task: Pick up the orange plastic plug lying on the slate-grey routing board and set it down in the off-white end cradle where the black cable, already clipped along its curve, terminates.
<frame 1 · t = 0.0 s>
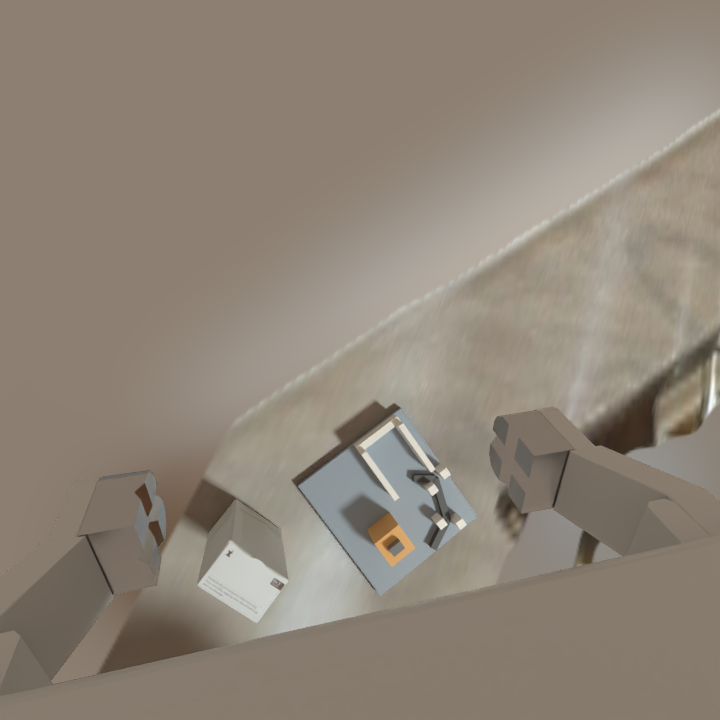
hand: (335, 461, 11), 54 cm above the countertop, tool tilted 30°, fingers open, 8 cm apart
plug: (386, 531, 67), point 1 cm above the countertop, touching route board
route board: (389, 499, 68), on the countertop
skincare box: (248, 530, 64), on the countertop
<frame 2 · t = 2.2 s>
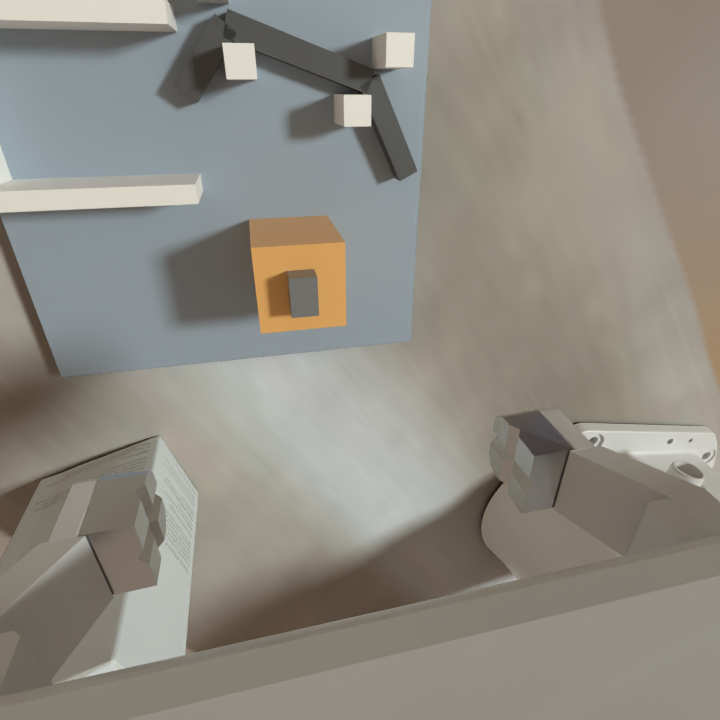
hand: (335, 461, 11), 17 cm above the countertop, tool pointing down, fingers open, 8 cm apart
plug: (291, 255, 25), point 1 cm above the countertop, touching route board
route board: (226, 195, 24), on the countertop
skincare box: (126, 479, 31), on the countertop
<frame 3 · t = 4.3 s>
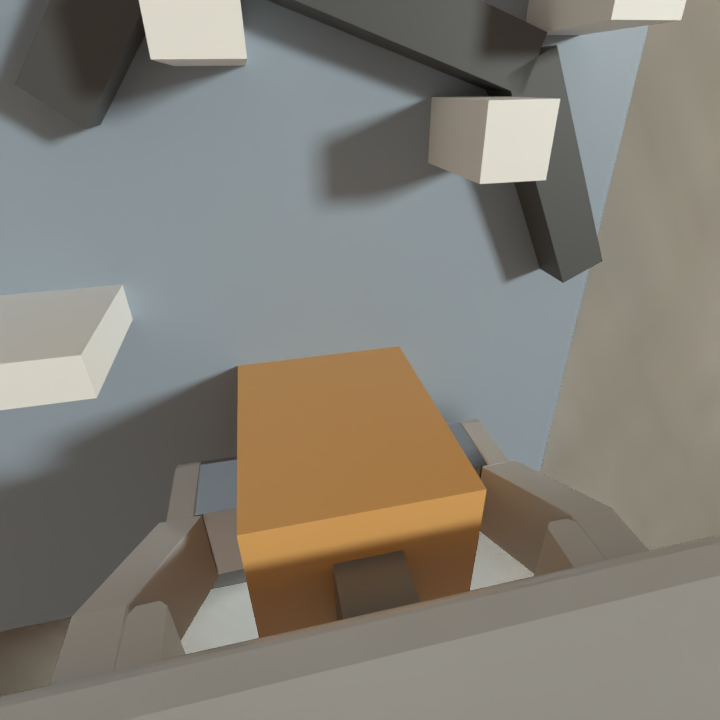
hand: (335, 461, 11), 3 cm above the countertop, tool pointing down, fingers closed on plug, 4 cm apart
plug: (325, 420, 13), point 1 cm above the countertop, touching gripper, route board
route board: (189, 314, 11), on the countertop
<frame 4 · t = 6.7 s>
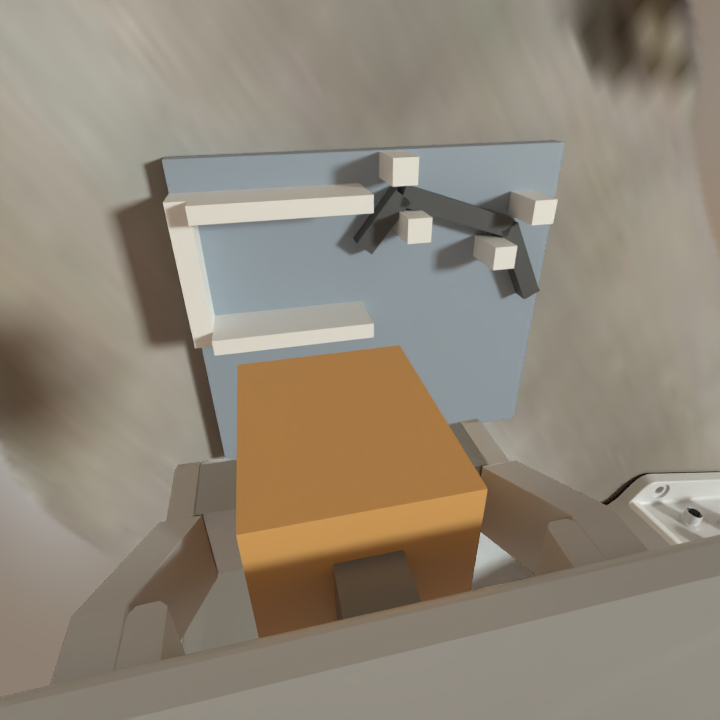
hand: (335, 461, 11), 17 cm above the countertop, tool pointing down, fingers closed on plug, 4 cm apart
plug: (325, 419, 12), point 15 cm above the countertop, touching gripper
route board: (374, 311, 28), on the countertop
skincare box: (258, 538, 36), on the countertop
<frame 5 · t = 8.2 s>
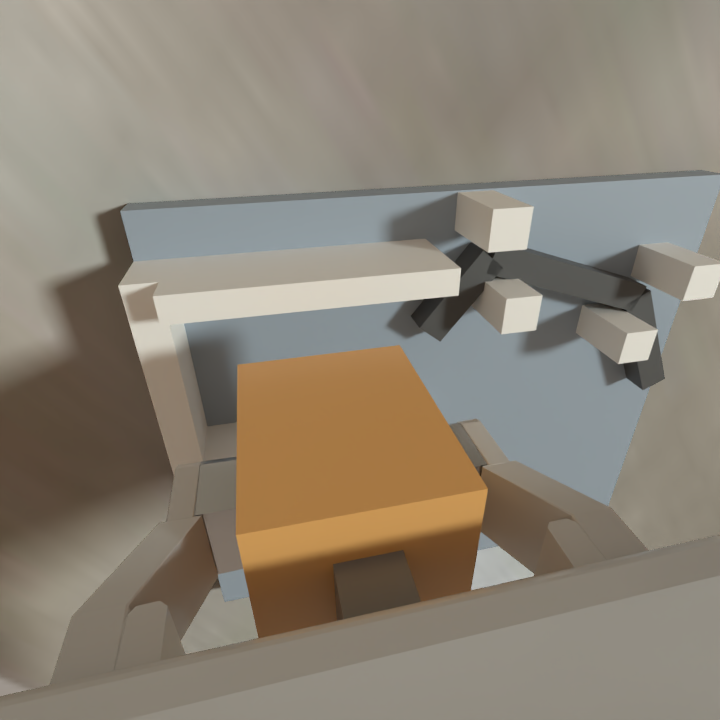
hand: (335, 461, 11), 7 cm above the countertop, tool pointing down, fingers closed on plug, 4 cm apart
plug: (325, 419, 12), point 6 cm above the countertop, touching gripper
route board: (430, 405, 20), on the countertop
when the fingers open (4 cm above the countertop, at t = 9.3 s): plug stays where it is, resting on route board.
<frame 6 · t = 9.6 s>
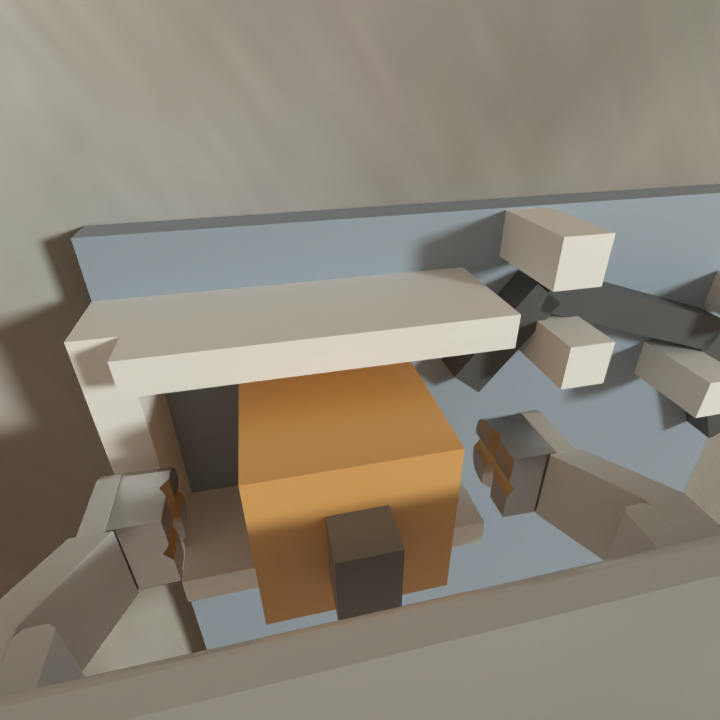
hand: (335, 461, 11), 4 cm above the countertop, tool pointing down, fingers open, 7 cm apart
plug: (320, 398, 13), point 1 cm above the countertop, touching route board
route board: (457, 454, 17), on the countertop
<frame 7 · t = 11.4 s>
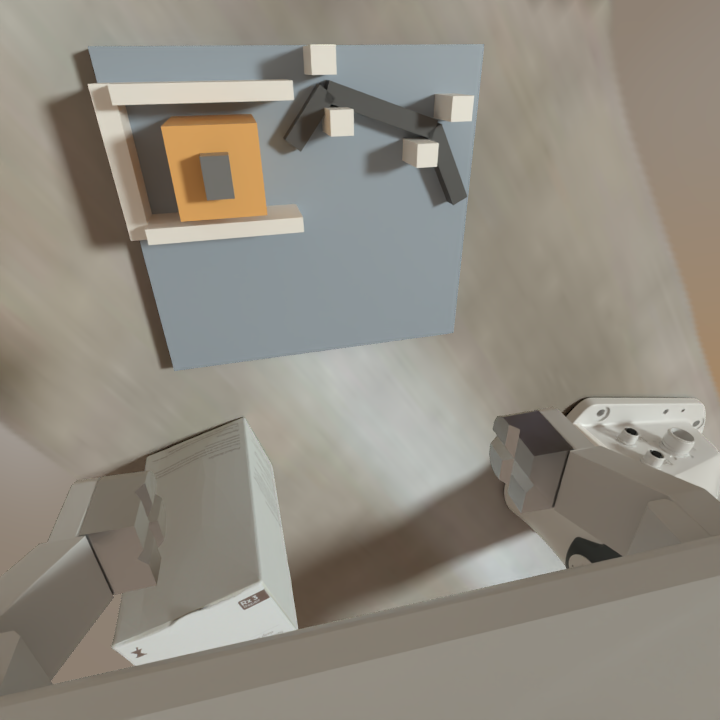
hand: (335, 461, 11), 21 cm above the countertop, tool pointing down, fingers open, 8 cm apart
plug: (218, 156, 25), point 1 cm above the countertop, touching route board
route board: (311, 219, 29), on the countertop
skincare box: (214, 455, 37), on the countertop
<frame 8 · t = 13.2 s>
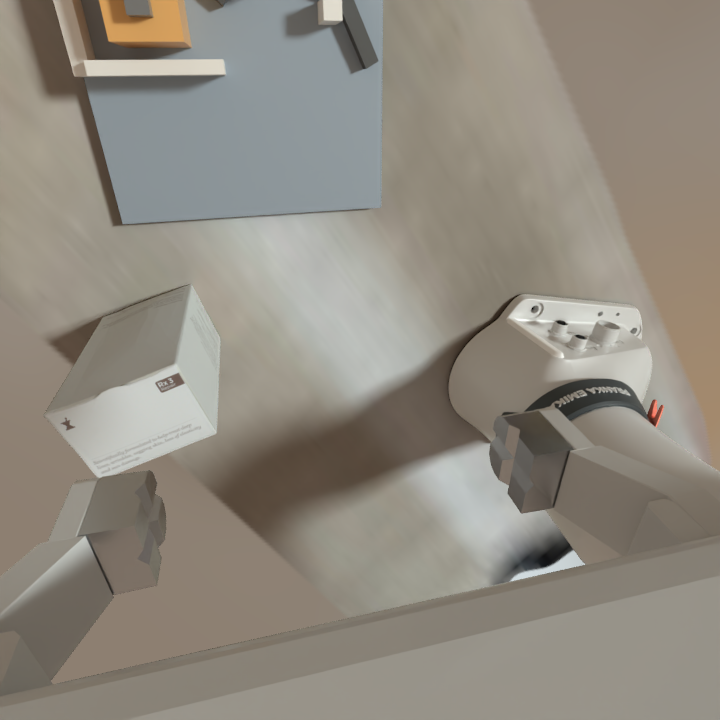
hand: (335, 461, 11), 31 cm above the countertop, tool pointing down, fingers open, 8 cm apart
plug: (152, 9, 29), point 1 cm above the countertop, touching route board
route board: (242, 82, 33), on the countertop
skincare box: (165, 323, 41), on the countertop
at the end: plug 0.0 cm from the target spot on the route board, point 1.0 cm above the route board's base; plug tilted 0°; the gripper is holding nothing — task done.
